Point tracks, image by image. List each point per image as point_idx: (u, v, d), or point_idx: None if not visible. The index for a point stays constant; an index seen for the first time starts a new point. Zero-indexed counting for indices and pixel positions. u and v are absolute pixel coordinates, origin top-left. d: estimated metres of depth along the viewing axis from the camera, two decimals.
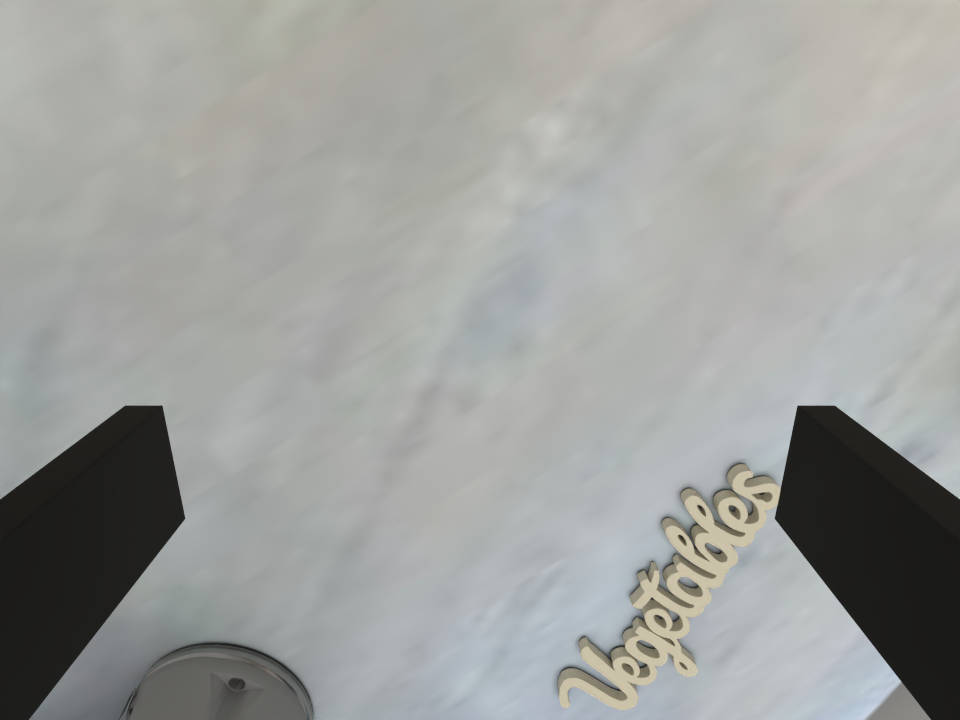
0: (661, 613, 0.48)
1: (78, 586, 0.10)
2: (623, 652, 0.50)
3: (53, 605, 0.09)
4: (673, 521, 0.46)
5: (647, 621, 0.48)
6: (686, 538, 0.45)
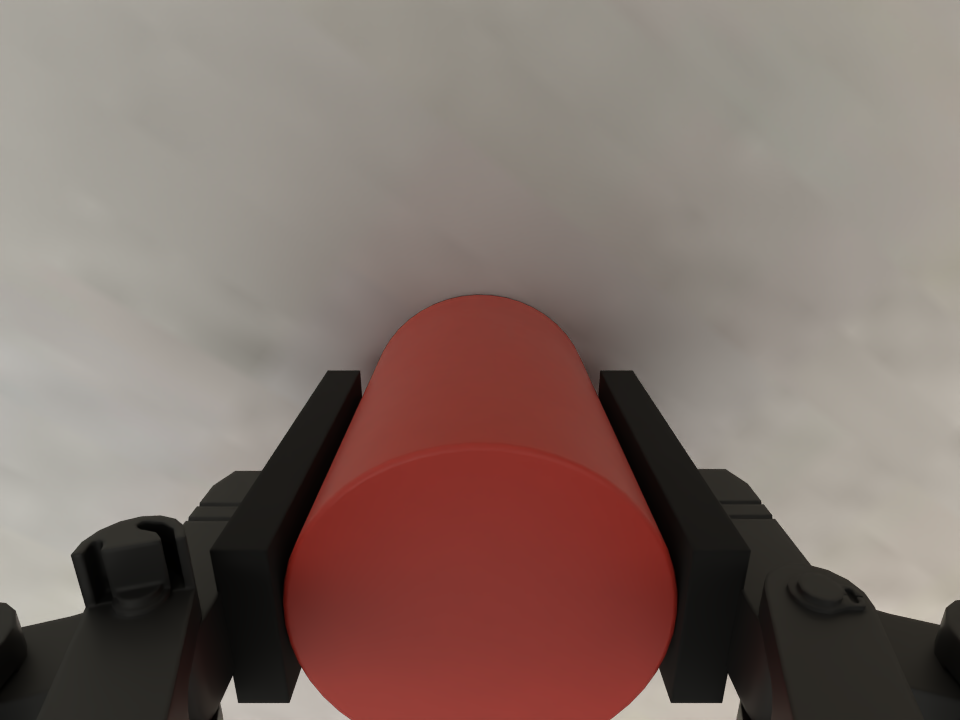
0: None
1: None
2: None
3: None
4: None
5: None
6: None
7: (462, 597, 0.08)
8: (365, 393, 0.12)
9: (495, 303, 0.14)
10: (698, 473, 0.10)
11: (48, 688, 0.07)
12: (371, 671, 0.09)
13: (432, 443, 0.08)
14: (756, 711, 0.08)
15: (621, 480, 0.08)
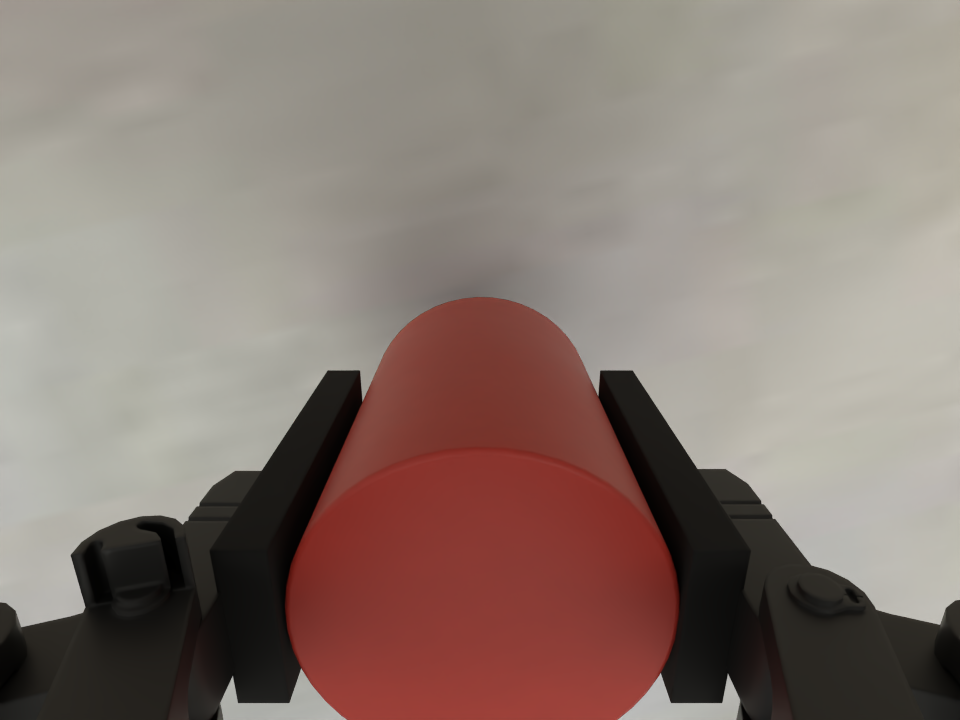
0: None
1: None
2: None
3: None
4: None
5: None
6: None
7: (464, 601, 0.08)
8: (366, 396, 0.12)
9: (496, 305, 0.14)
10: (698, 473, 0.10)
11: (48, 688, 0.07)
12: (373, 675, 0.09)
13: (434, 447, 0.08)
14: (756, 711, 0.08)
15: (623, 484, 0.08)
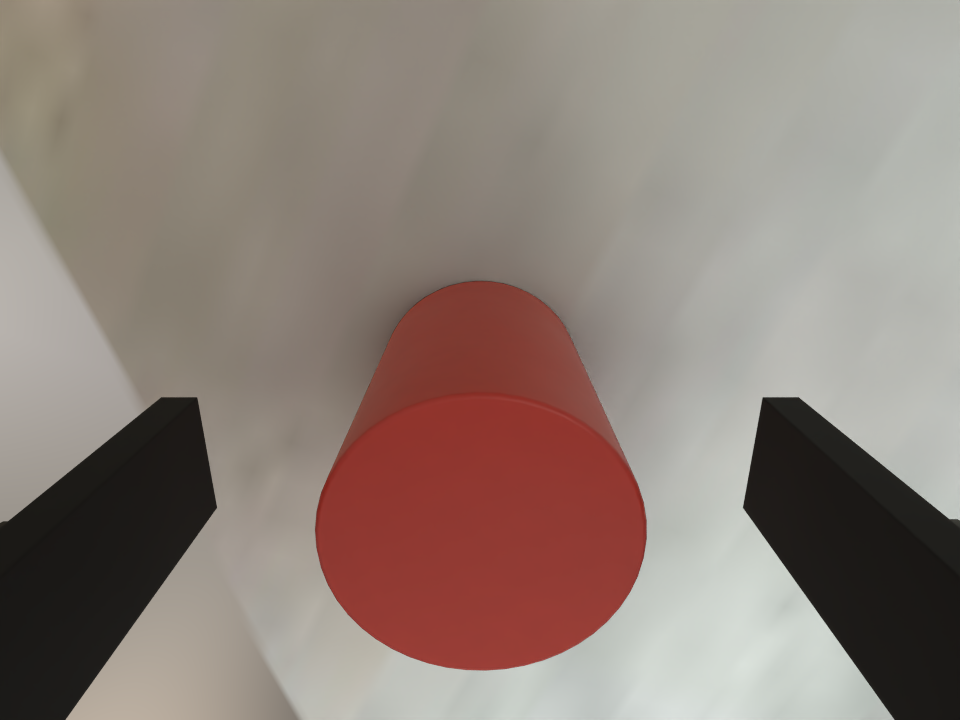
0: None
1: (125, 569, 0.10)
2: None
3: (104, 586, 0.09)
4: None
5: None
6: None
7: (465, 525, 0.10)
8: (379, 365, 0.14)
9: (494, 288, 0.16)
10: None
11: None
12: (389, 591, 0.10)
13: (441, 393, 0.09)
14: None
15: (598, 426, 0.10)
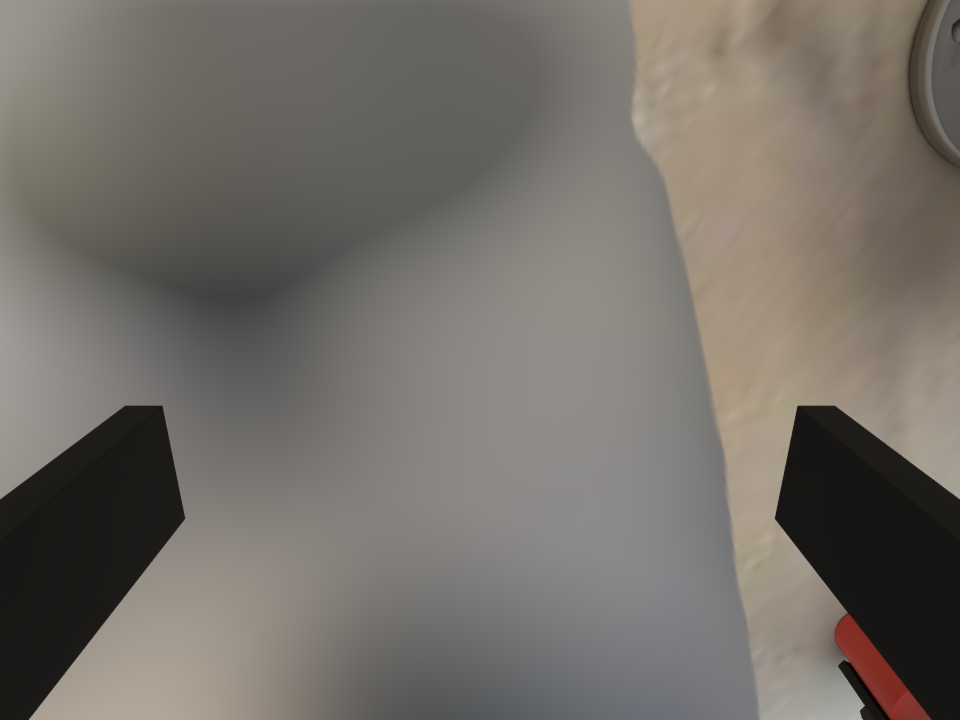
0: None
1: (78, 586, 0.10)
2: None
3: (53, 605, 0.09)
4: None
5: None
6: None
7: None
8: (868, 646, 0.49)
9: None
10: None
11: None
12: (906, 719, 0.45)
13: None
14: None
15: None
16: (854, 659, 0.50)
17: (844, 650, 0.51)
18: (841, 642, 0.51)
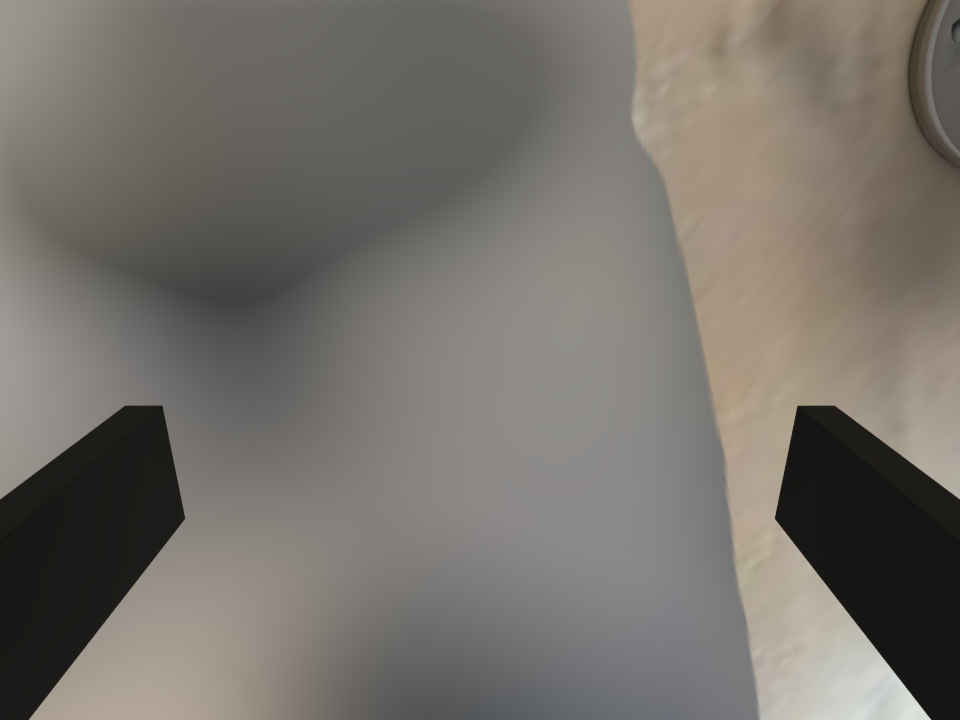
0: None
1: (78, 586, 0.10)
2: None
3: (53, 605, 0.09)
4: None
5: None
6: None
7: None
8: None
9: None
10: None
11: None
12: None
13: None
14: None
15: None
16: None
17: None
18: None
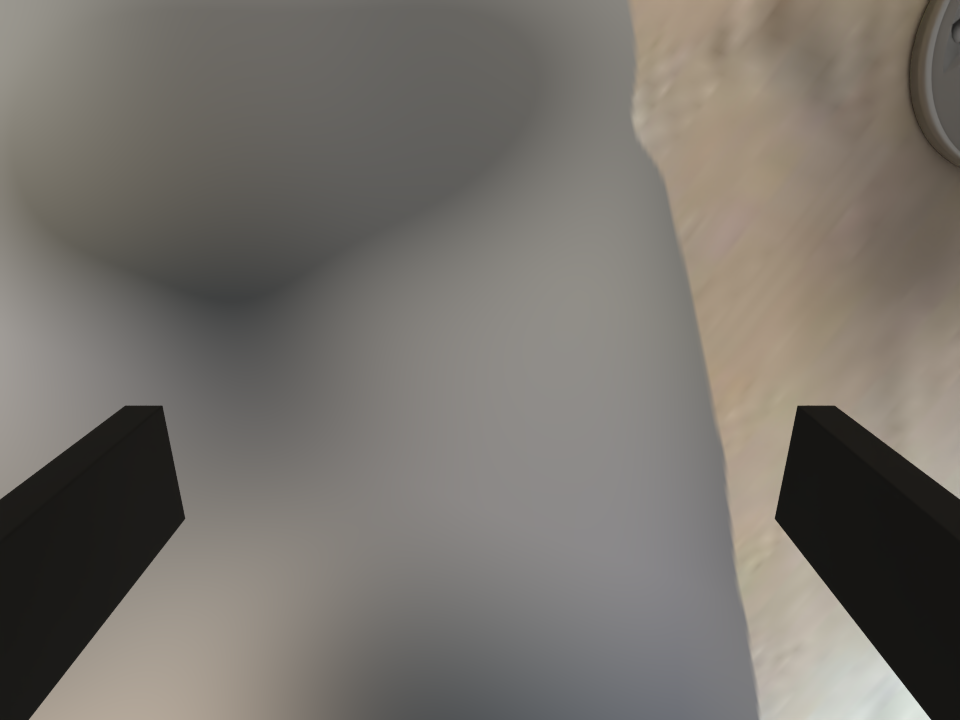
0: None
1: (78, 586, 0.10)
2: None
3: (53, 605, 0.09)
4: None
5: None
6: None
7: None
8: None
9: None
10: None
11: None
12: None
13: None
14: None
15: None
16: None
17: None
18: None
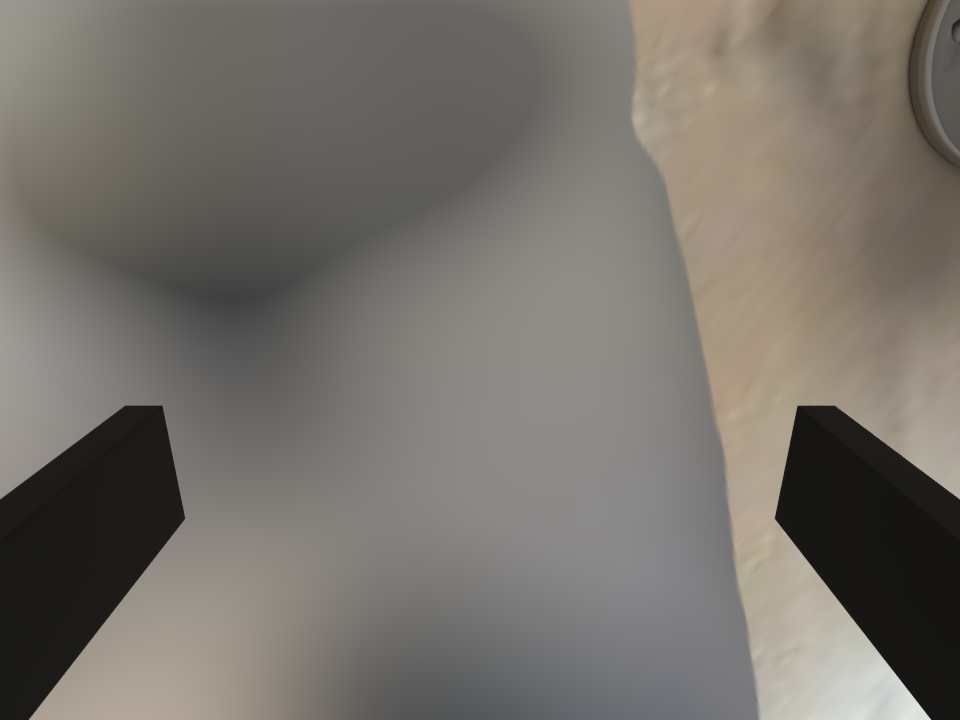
0: None
1: (78, 586, 0.10)
2: None
3: (53, 605, 0.09)
4: None
5: None
6: None
7: None
8: None
9: None
10: None
11: None
12: None
13: None
14: None
15: None
16: None
17: None
18: None
